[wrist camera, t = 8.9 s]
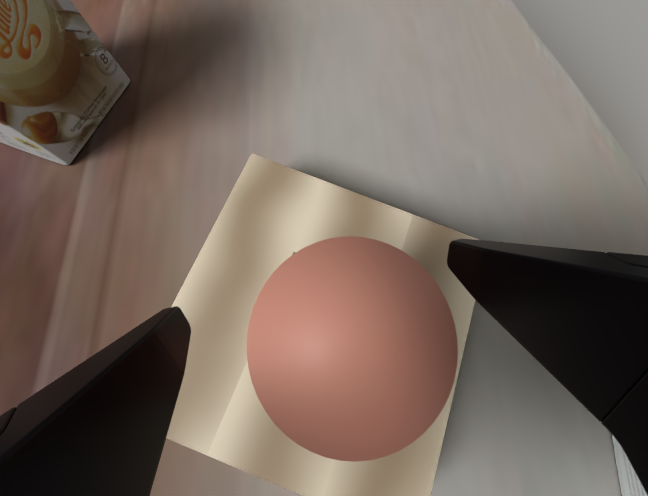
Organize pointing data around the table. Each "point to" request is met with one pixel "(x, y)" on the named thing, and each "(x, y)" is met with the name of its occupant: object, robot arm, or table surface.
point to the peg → (352, 348)
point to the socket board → (234, 315)
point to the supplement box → (627, 473)
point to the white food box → (53, 78)
